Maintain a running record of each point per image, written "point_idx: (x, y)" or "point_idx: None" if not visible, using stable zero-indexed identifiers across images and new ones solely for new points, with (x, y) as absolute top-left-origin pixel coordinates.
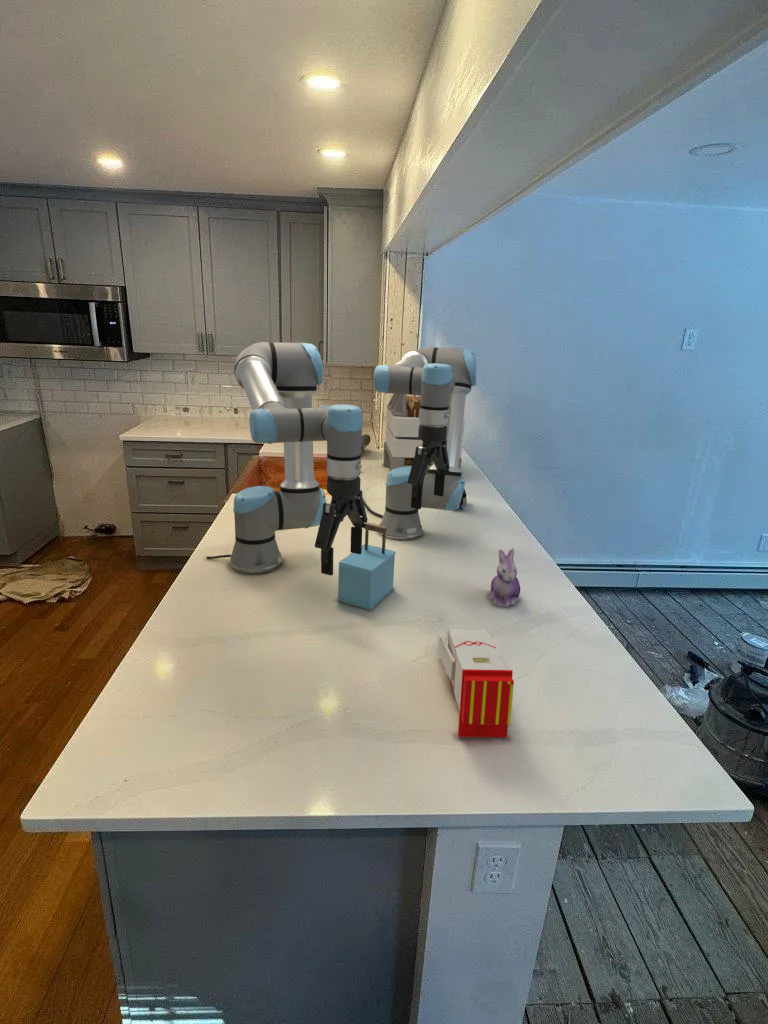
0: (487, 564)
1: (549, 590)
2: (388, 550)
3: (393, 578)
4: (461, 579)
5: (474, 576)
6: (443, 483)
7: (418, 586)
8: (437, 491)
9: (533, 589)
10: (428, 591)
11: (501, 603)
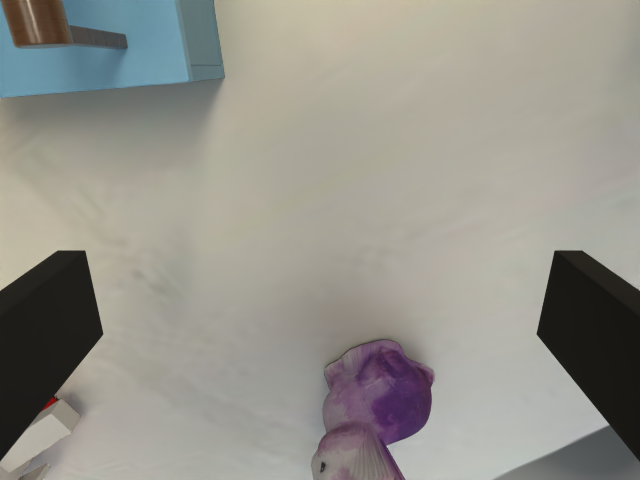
0: None
1: (488, 439)
2: (171, 42)
3: (214, 78)
4: (429, 237)
5: (473, 262)
6: (627, 436)
7: (299, 144)
8: (569, 309)
9: (473, 410)
10: (288, 188)
11: (330, 385)
